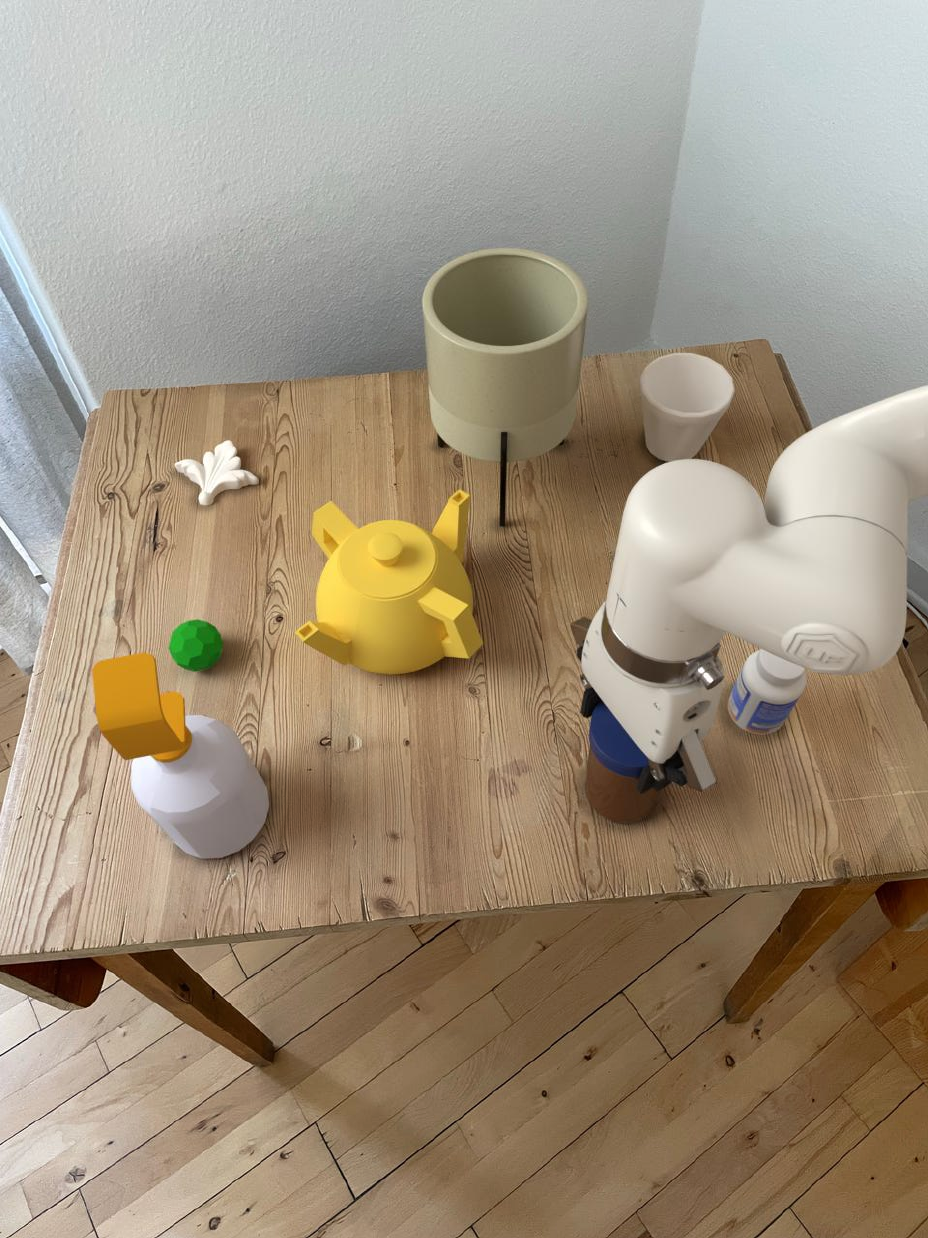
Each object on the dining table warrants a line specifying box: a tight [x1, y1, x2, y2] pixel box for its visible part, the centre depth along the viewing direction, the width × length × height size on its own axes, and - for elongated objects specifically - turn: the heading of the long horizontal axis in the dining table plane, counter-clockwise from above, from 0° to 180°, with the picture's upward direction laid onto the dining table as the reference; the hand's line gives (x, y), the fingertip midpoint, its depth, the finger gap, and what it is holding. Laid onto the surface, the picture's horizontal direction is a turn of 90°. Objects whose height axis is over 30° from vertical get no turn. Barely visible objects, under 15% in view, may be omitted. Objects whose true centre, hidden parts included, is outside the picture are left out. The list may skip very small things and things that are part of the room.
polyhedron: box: [168, 619, 224, 673], centre depth 84 cm, size 5×5×5 cm
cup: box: [638, 352, 736, 463], centre depth 97 cm, size 10×10×9 cm
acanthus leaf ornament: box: [174, 440, 260, 507], centre depth 99 cm, size 8×7×2 cm
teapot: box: [293, 488, 484, 675], centre depth 84 cm, size 17×17×12 cm
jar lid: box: [588, 700, 649, 778], centre depth 69 cm, size 7×7×2 cm
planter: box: [421, 247, 589, 527], centre depth 90 cm, size 15×16×23 cm
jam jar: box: [584, 745, 662, 824], centre depth 73 cm, size 7×7×11 cm
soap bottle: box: [91, 651, 270, 860], centre depth 67 cm, size 9×9×25 cm
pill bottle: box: [727, 648, 808, 736], centre depth 78 cm, size 5×5×10 cm
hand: (625, 743), depth 70 cm, fingers closed on jar lid, 7 cm apart
